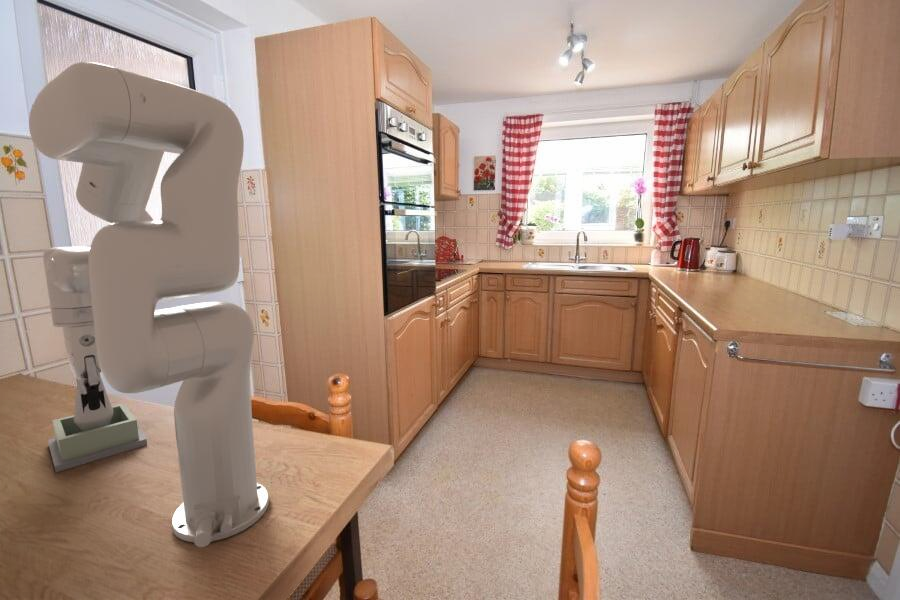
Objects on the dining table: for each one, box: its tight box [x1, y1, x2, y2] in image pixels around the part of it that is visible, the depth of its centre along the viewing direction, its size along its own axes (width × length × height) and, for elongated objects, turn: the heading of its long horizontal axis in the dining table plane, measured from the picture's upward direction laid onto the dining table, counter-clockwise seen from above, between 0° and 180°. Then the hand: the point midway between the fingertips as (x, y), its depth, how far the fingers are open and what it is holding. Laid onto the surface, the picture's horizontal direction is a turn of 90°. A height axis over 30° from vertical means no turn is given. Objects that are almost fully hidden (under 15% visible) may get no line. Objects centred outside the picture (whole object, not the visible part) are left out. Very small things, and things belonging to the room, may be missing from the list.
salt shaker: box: [73, 361, 113, 431], centre depth 79 cm, size 6×6×13 cm
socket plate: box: [47, 402, 148, 473], centre depth 80 cm, size 13×13×5 cm
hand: (93, 408), depth 79 cm, fingers closed on salt shaker, 3 cm apart
